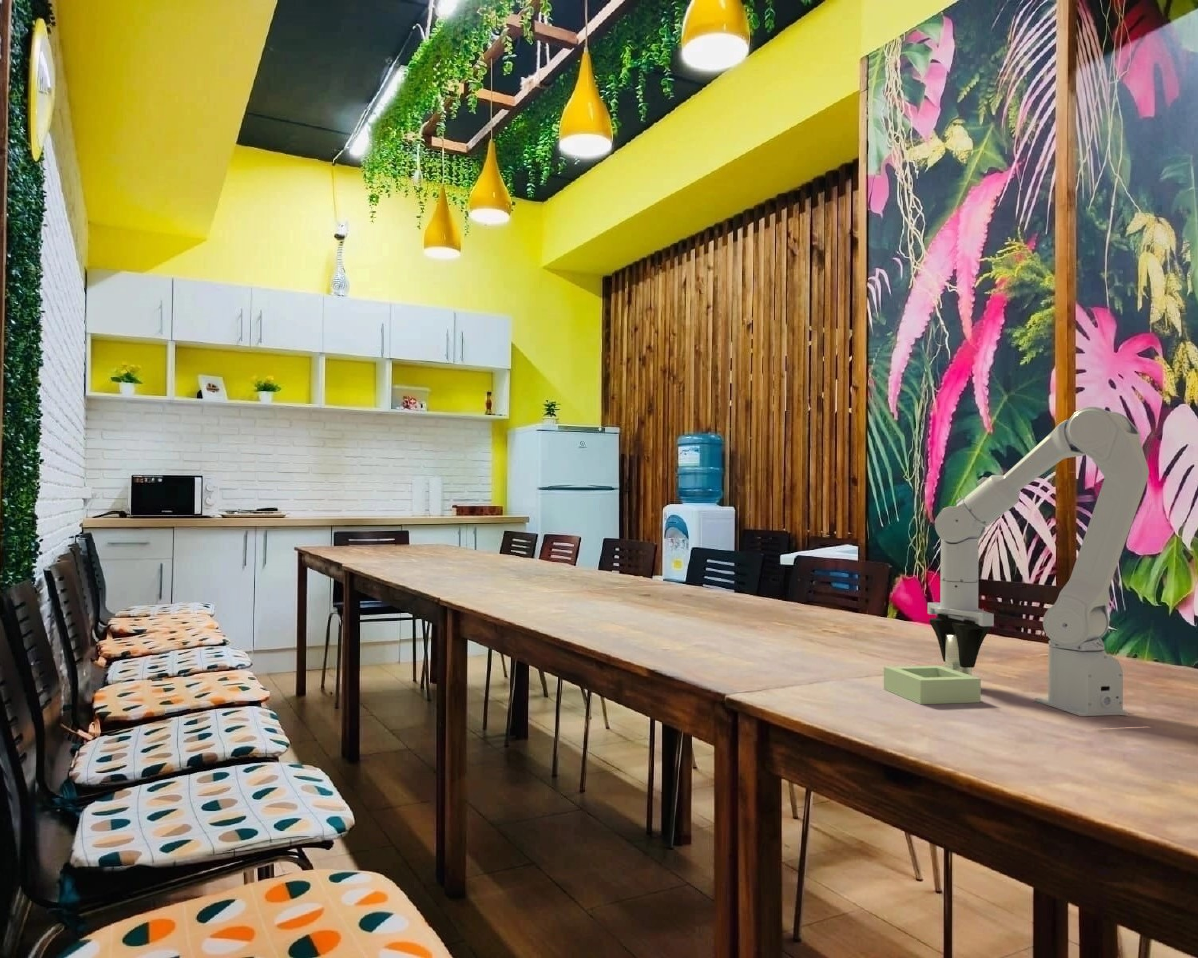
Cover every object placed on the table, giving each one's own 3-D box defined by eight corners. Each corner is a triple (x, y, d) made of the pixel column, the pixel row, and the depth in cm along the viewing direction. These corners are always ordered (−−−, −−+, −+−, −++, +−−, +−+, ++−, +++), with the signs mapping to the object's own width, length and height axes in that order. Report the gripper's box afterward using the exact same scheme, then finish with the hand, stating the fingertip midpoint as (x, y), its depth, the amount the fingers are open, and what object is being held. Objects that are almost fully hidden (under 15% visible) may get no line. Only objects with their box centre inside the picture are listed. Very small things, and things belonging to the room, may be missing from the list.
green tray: (980, 702, 126) (980, 678, 126) (920, 704, 124) (920, 680, 124) (939, 687, 136) (940, 665, 136) (883, 688, 134) (883, 666, 134)
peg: (977, 686, 136) (977, 636, 136) (955, 687, 135) (955, 637, 135) (961, 681, 140) (961, 632, 140) (940, 682, 139) (940, 633, 139)
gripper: (911, 576, 144) (911, 656, 144) (965, 585, 130) (965, 674, 130) (948, 576, 146) (947, 655, 145) (1005, 585, 132) (1005, 672, 131)
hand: (958, 664), depth 138 cm, fingers closed on peg, 4 cm apart
